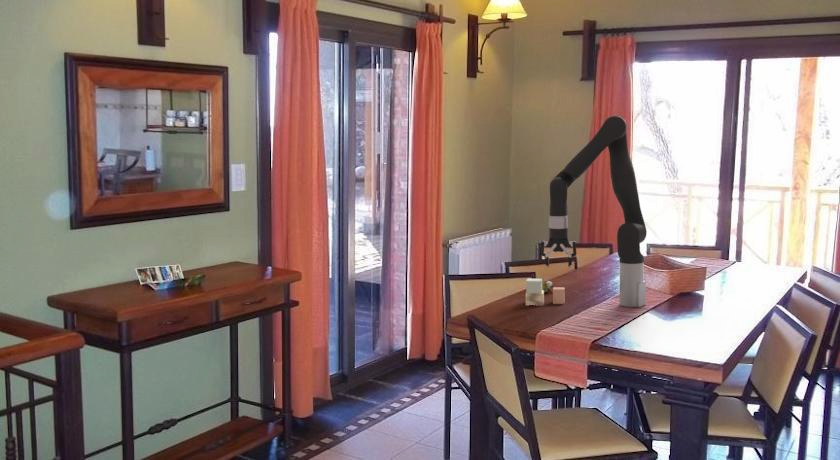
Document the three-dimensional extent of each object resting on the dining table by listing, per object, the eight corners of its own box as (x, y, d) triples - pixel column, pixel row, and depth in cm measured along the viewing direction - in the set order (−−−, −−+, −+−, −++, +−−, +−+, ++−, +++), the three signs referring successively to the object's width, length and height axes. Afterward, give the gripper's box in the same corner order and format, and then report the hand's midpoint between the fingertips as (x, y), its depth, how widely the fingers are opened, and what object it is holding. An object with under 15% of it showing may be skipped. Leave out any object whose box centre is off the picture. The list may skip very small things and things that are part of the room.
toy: (547, 291, 328) (562, 286, 341) (534, 279, 331) (549, 275, 343) (538, 303, 331) (553, 297, 343) (525, 291, 334) (541, 286, 346)
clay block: (564, 301, 321) (564, 287, 320) (564, 304, 317) (564, 289, 316) (553, 301, 322) (553, 287, 321) (553, 303, 318) (553, 289, 317)
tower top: (542, 290, 320) (542, 278, 320) (541, 293, 315) (541, 281, 314) (527, 290, 322) (527, 278, 321) (526, 293, 316) (526, 281, 315)
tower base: (544, 302, 321) (543, 290, 321) (543, 306, 315) (542, 293, 314) (526, 302, 323) (526, 290, 322) (525, 305, 316) (525, 293, 315)
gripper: (576, 225, 318) (576, 265, 320) (541, 225, 321) (541, 264, 323) (576, 228, 311) (576, 268, 313) (540, 227, 314) (540, 267, 316)
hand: (558, 266), depth 318 cm, fingers open, 8 cm apart
